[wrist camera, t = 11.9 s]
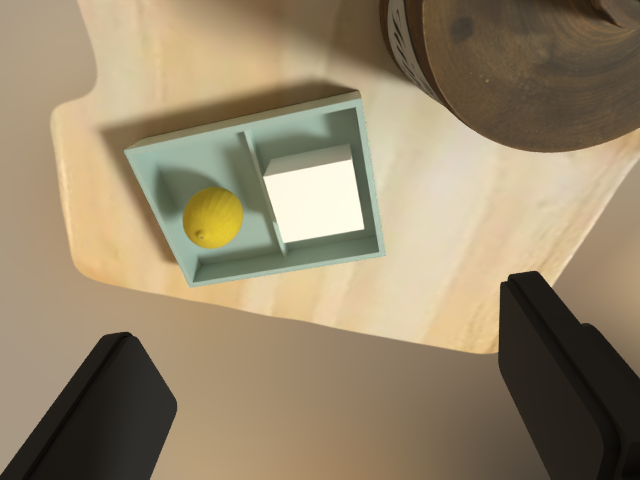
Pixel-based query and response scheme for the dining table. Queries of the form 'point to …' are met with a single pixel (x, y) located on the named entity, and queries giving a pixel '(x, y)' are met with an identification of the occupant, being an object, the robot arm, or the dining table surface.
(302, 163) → the carton
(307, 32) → the dining table surface
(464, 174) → the dining table surface
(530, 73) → the wooden container
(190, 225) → the lemon
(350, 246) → the tray
